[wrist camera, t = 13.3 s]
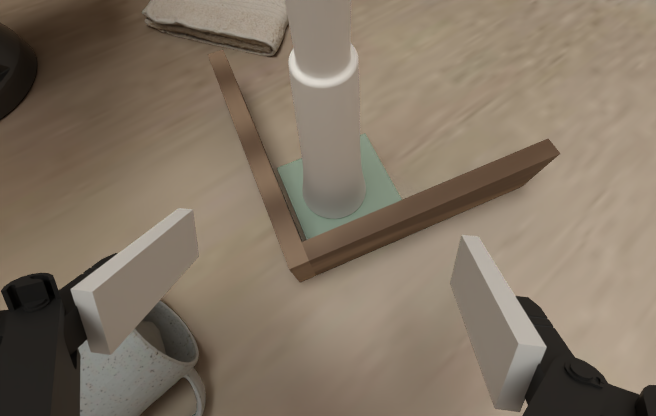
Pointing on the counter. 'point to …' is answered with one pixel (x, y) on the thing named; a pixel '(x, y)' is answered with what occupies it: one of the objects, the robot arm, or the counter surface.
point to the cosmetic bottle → (326, 105)
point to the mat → (376, 197)
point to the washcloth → (223, 22)
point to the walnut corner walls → (378, 224)
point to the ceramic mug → (140, 367)
